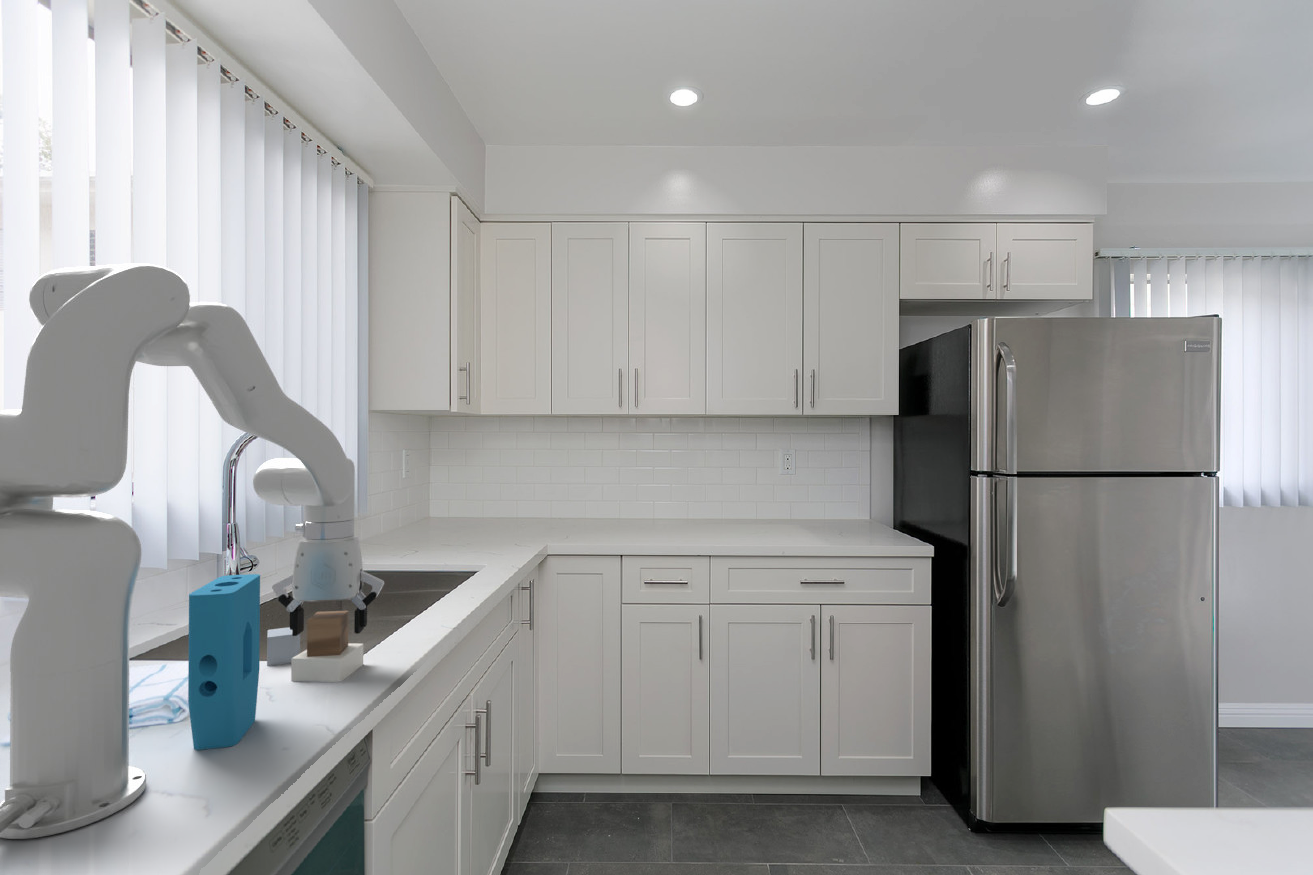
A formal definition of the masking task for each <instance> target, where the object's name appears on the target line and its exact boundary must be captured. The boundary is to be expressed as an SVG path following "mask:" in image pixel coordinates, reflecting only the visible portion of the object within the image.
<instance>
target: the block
mask: <svg viewBox="0 0 1313 875" xmlns="http://www.w3.org/2000/svg"><path fill="white" fill-rule="evenodd" d="M260 620H261V574H258V573H254V574H253V573H252V574H233V575H232V574H231V575H229V574H228V575H221V576H219V577H217V578H215V579H214V580H212V581H210V582H208V583H206V584H205V585H203V586H201V587H199V588H197V589H195V590H194V591H192V592H190V593H189V594H188V668H187V669H188V673H187V674H188V675H187V676H188V677H187V679H188V683H187V684H188V685H187V686H188V688H187V689H188V690H187V693H188V695H187V701H188V703H187V704H188V711H189V718H190V719H189V720H190V727H191V737H192V744H193V749H194V750H195V751H199V750H200V751H201V750H212V749H220V748H229V747H233V746H236V745H237V744H239V743H240V741H241V740H242V739H243V737H244V736H245V735H246V734H247V732H248V731H249V730H250V728H251V727H252V725H253V724H254V723H255V721H256V716H257V715H256V714H257V703H258V702H257V700H258V691H259V690H258V687H259V680H260V679H259V677H260V654H261V653H260V648H261V647H260V640H261V639H260V637H261V635H260V634H261V633H260V632H261V631H260V630H261V627H260V624H261V623H260V622H261V621H260Z"/></svg>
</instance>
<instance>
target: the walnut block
mask: <svg viewBox="0 0 1313 875" xmlns="http://www.w3.org/2000/svg"><path fill="white" fill-rule="evenodd" d="M306 622H307V623H306V650H307V657H312V656H333V655H340V654H341V653H342V652H343V651H344V650H345V649H346V647H347V646H348V643H349V610H335V611H334V610H331V611H316V612H315V613H314V614H313V615H312V616H310V617H309V618H308V619H306Z"/></svg>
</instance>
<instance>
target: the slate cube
mask: <svg viewBox="0 0 1313 875" xmlns="http://www.w3.org/2000/svg"><path fill="white" fill-rule="evenodd" d="M266 633H267V637H266V638H267V641H266V642H267V643H266V644H267V645H266V656H267V657H266V666H267V667H269V666H270V667H271V666H276V665H277V666H278V665H283V664H291V658H293V657H295V656H296V655H298V654H300V653H301V633H300V634H299V635H297V636H292V630H290V626H289V627H288V626H287V627H281V628H280V627H279V628H273V629H268V630H267V632H266Z"/></svg>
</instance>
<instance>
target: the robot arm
mask: <svg viewBox="0 0 1313 875" xmlns="http://www.w3.org/2000/svg"><path fill="white" fill-rule="evenodd" d="M28 301H29V306H30V309H31V312H32V313H33V316H34V317H35V319H36V320H37V321H38V323H40V325H41V326H42V327H41V328H40V330H39V331H38V333H37V334H36V336H35V338H34V339H33V342H32V344H31V347H30V349H29V352H28V356H27V360H26V367H25V377H24V380H25V381H24V386H23V397H22V406H21V409H4V410H1V411H0V597H1V598H15V599H16V598H17V599H19V598H20V599H27V600H28V602H27V605H26V607H25V609H24V610H25V611H24V612H23V615H22V617H21V618H20V620H19V622H18V625H17V627H16V629H15V632H14V634H13V637H12V641H11V645H10V646H11V647H10V657H9V662H10V663H9V668H10V669H9V670H10V697H9V699H10V707H9V708H10V710H9V711H10V713H9V714H10V716H9V717H10V718H9V720H10V724H9V725H10V726H9V727H10V730H9V732H10V733H9V734H10V735H9V737H10V738H9V742H10V743H9V745H10V746H9V747H10V748H9V786H8V787H6V788H5V789H4V799H3V800H2V801H1V802H0V838H2V839H8V840H28V839H34V838H36V839H37V838H43V837H48V836H52V835H53V836H54V835H57V834H60V833H65V832H68V831H72V830H75V829H78V828H81V827H85V826H88V825H91V824H93V823H96V822H98V821H101V820H103V819H105V818H107V817H108V816H109V817H110V816H111V815H113V814H115V813H117V812H119V811H120V810H123V809H124V808H125V807H127V806H128V805H131V803H133V802H134V801H136V799H138V798H139V797H140V796H141V795H142V793H143V792H144V791H145V789H146V786H147V774H146V773H145V771H144V770H142V769H140V768H138V767H136V766H135V767H134V766H132V765H129V764H130V763H129V762H130V761H129V760H130V759H129V757H130V756H129V755H130V749H129V748H130V627H131V626H130V624H131V622H130V621H131V610H132V602H133V596H134V591H135V587H136V583H137V579H138V575H139V571H140V567H141V564H142V563H141V561H142V546H141V541H140V538H139V536H138V534H137V532H136V531H135V529H134V528H132V526H131V525H130V524H128V523H127V522H126V521H125V520H123V519H121V518H119V517H117V516H115V515H111V514H109V513H103V512H100V511H94V510H93V511H92V510H82V509H79V510H78V509H57V508H56V509H53V508H54V507H53V506H54V498H70V499H71V498H86V497H94V496H98V495H102V494H104V493H108V492H109V491H110V490H112V489H114V488H115V487H116V486H117V485H118V484H119V483H120V481H121V480H122V479H123V477H124V474H125V472H126V468H127V463H128V462H127V459H128V443H129V441H128V439H129V430H128V429H129V408H130V407H129V403H130V402H129V401H130V399H129V398H130V385H131V377H132V374H133V370H134V367H135V365H136V363H137V362H138V363H143V364H146V365H151V366H157V367H189V368H190V369H191V371H192V373H193V374H194V376H195V377H196V378H197V380H198V382H199V384H200V385H201V387H202V388H203V390H204V391H205V394H206V395H207V396H208V398H209V399H210V401H211V403H212V405H213V406H214V409H216V412H217V413H218V415H219V416H220V418H221V419H222V420H223V422H225V423H227V424H228V425H229V426H232V427H234V428H235V429H238V430H240V431H242V432H244V433H247V434H249V435H252V436H254V437H258V438H259V439H262V440H265V441H268V442H270V443H273V444H274V445H276V446H278V447H281V448H283V449H284V450H286V451H287V452H289V453H290V454H291V455H292V456H294V457H278V458H273V459H270V460H267V461H266V462H264V463H263V464H261V465H260V466H259V467H258V469H257V470H256V471H255V473H254V475H253V478H252V479H253V480H252V485H253V490H254V492H255V493H256V495H257V496H258V498H260V499H261V500H263V501H264V502H266V503H269V504H272V505H277V506H297V507H299V506H304V518H303V519H304V521H302V523H300V524H298V523H297V524H295V527H294V531H295V533H300V534H302V538H303V539H300V540H298V542H297V546H296V552H295V557H294V564H293V571H292V572H293V573H292V575H290V576H287V578H286V577H285V578H283V579H281V580H280V581H278V582H275V583H273V585H272V586H271V588H272V591H273V592H274V594H275V595H276V596H275V597H277V599H278V602H279V603H280V604H282V606H284V607H285V608H286V611H287V612H288V613H289V627H290V630H292V636H297V635H299V634H300V635H301V633H303V632H304V630H305V609H304V607H302V605H303V603H304V602H306V603H307V602H334V601H335V602H339V601H349V600H350V601H351V602H352V603H353V604H354V605H355V606H356V609H355V610H354V622H353V623H354V624H353V625H354V629H353V630H354V633H355V634H356V635H358V634H361V632H362V631H364V629H365V628H366V627H367V625H368V607H369V605H370V604H371V603H372V602H373V601H375V599H376V598H377V597H378V596H379V594H380V592H381V590H382V589H383V587H384V585H385V581H384V580H383V579H381V578H378V577H376V576H374V575H372V574H370V573H368V572H366V571H364V569H363V568H364V566H363V558H362V556H363V555H362V551H361V545H360V540H359V537H357V536H355V491H356V490H355V483H356V482H355V480H356V478H355V475H356V474H355V464H354V462H353V460H352V459H350V458H348V457H347V455H346V454H345V451H344V449H343V447H342V445H341V443H340V441H339V439H338V438H337V436H336V435H335V434H334V433H333V431H332V430H331V429H330V428H329V427H328V426H327V425H325V424H324V422H322V421H321V420H319V419H318V418H317V417H316V416H314V415H313V414H312V413H311V412H310V411H308V410H307V409H306V408H304V407H303V406H301V405H300V404H299V403H297V402H295V401H294V400H292V399H291V398H290V397H288V395H286V393H285V392H284V390H283V389H282V388H281V386H280V383H279V382H278V380H277V377H276V376H275V374H274V372H273V371H272V369H271V367H270V364H269V363H268V361H267V359H266V358H265V355H264V354H263V352H262V350H261V348H260V346H259V344H258V342H257V340H256V339H255V337H254V335H253V333H252V332H251V329H250V328H249V325H248V324H247V322H246V320H245V319H244V318H243V316H242V315H241V314H240V313H239V312H238V311H237V310H236V309H235V308H233V307H231V306H229V305H226V304H223V303H219V302H210V301H209V302H207V301H204V302H203V301H200V302H196V301H195V302H191V293H190V288H189V286H188V284H187V282H186V280H185V279H184V278H183V277H182V276H181V275H179V274H178V273H177V272H175V271H174V270H171V269H170V268H167V267H163V266H160V265H155V264H150V263H122V264H106V265H96V266H95V265H94V266H93V265H92V266H76V267H72V266H71V267H63V268H59V269H58V268H57V269H54V270H51V271H49V272H47V273H44V274H42V275H41V276H40V277H39V278H37V279H36V281H34V283H33V284H32V286H31V288H30V291H29V299H28ZM364 583H365V584H367V585H369V586H371V587H372V589H371V591H370V592H369V594H368V595H367V596H366V595H365V594H364V592H363V588H364ZM288 586H291V594H290V593H288V592H287V589H286V588H287V587H288Z"/></svg>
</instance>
